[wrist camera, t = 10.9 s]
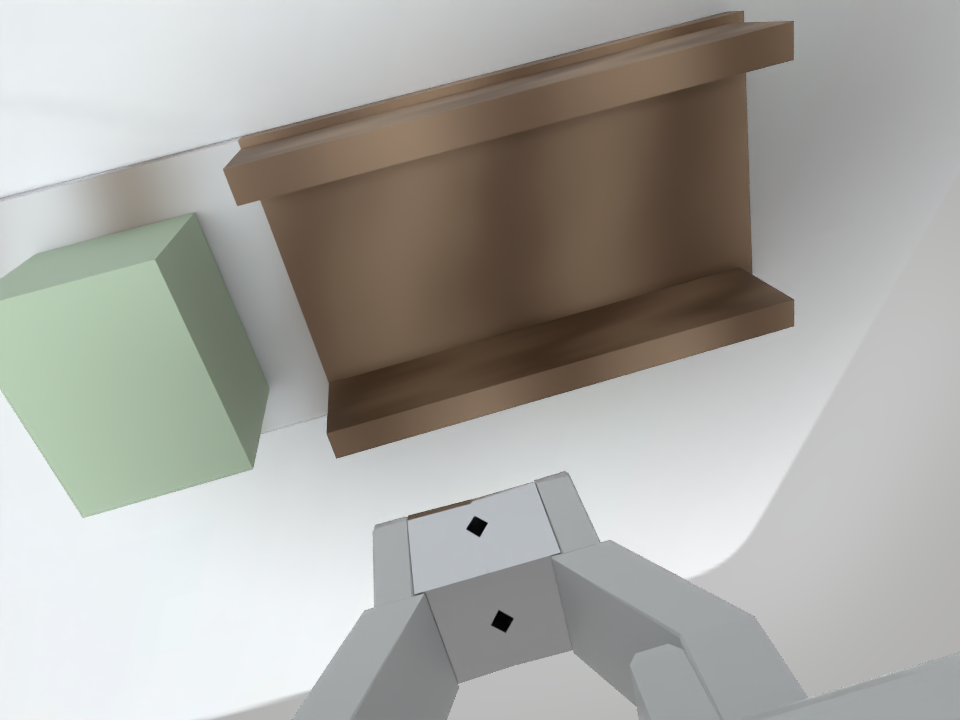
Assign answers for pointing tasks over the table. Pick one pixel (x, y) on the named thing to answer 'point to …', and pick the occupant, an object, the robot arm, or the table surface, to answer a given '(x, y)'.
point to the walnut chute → (470, 231)
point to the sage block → (131, 365)
